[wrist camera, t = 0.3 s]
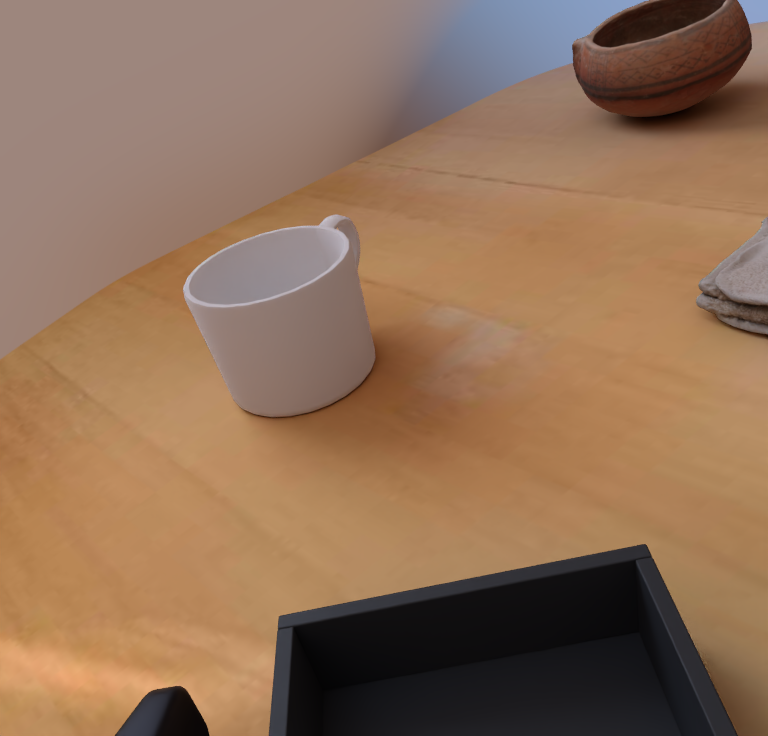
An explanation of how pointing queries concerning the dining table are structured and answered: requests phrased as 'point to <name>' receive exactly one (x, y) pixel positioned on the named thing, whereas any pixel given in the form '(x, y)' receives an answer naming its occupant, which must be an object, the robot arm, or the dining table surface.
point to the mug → (286, 317)
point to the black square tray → (501, 658)
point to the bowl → (662, 55)
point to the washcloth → (740, 286)
